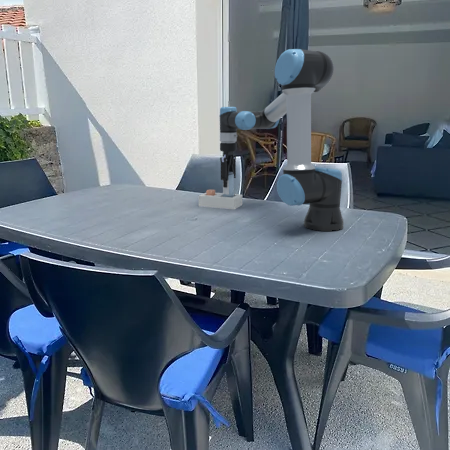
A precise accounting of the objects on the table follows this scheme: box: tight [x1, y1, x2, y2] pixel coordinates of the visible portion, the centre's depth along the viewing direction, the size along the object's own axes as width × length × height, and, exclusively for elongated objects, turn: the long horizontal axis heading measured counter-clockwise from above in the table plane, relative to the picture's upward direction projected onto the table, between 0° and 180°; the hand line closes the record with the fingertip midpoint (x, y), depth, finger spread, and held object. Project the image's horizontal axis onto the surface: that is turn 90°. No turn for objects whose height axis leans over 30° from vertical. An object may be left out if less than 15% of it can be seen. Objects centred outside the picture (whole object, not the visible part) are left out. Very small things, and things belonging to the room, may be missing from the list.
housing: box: [198, 192, 243, 210], centre depth 201 cm, size 10×18×6 cm, turn 67°
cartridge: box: [223, 172, 235, 197], centre depth 198 cm, size 5×5×16 cm
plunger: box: [205, 189, 216, 196], centre depth 202 cm, size 4×4×6 cm
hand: (228, 193), depth 198 cm, fingers closed on cartridge, 5 cm apart
